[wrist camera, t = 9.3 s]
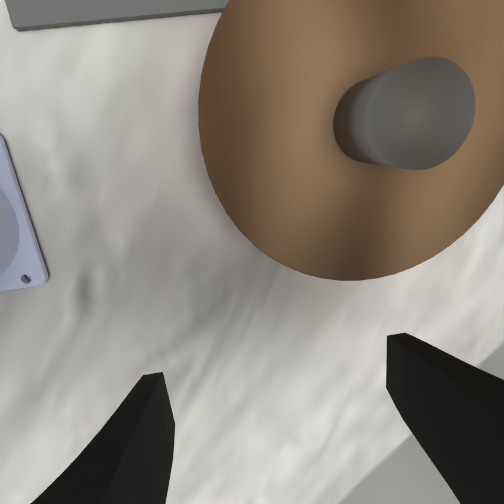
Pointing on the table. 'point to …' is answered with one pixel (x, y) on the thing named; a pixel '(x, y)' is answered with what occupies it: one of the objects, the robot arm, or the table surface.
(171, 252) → the table surface
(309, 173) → the lid
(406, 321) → the table surface
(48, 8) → the mat
